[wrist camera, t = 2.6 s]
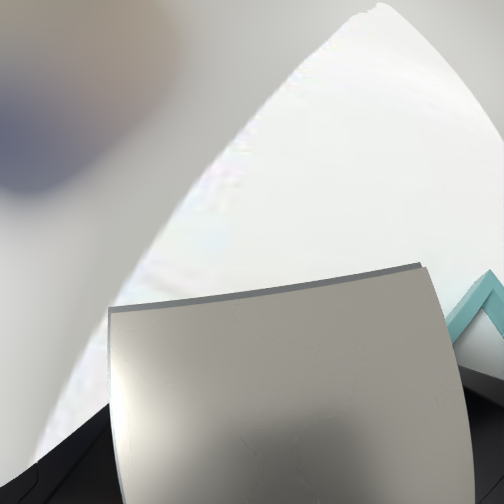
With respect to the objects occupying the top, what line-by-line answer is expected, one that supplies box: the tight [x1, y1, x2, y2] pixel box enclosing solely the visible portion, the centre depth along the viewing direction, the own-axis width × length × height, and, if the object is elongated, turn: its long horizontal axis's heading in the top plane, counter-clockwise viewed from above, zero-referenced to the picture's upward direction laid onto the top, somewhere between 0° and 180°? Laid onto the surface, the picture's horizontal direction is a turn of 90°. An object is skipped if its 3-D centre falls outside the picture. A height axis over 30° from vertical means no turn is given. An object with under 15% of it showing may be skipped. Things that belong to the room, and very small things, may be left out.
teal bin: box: [445, 270, 504, 344], centre depth 12 cm, size 12×11×2 cm
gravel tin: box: [108, 262, 475, 504], centre depth 8 cm, size 5×5×12 cm
